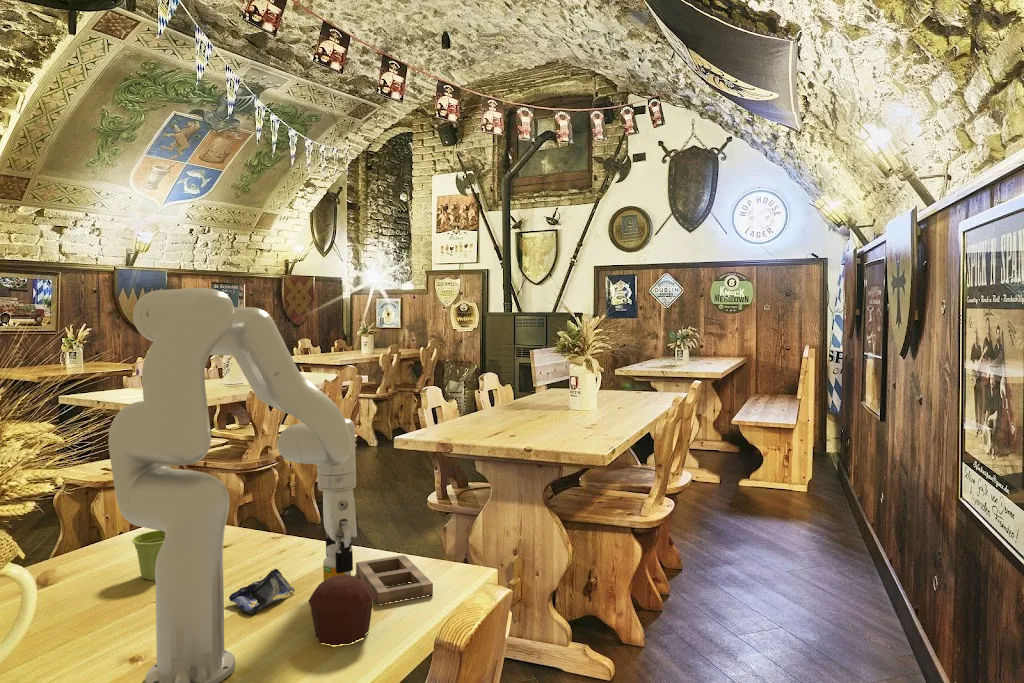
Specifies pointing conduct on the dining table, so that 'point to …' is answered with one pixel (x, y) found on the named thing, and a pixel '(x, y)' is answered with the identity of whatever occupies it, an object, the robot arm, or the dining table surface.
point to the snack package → (261, 592)
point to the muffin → (341, 609)
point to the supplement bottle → (331, 563)
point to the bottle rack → (394, 579)
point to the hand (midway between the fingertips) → (339, 563)
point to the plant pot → (148, 551)
